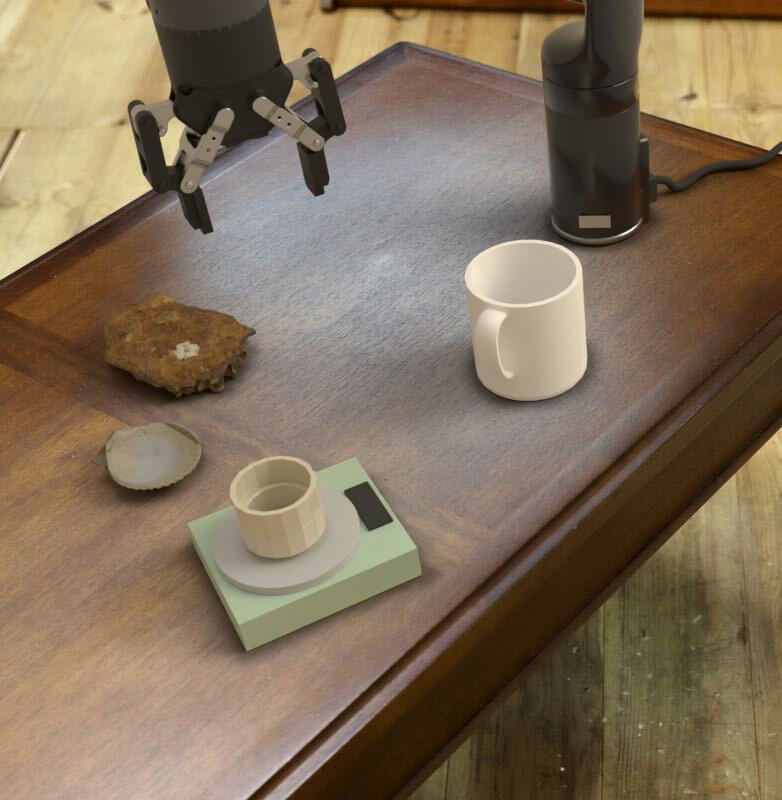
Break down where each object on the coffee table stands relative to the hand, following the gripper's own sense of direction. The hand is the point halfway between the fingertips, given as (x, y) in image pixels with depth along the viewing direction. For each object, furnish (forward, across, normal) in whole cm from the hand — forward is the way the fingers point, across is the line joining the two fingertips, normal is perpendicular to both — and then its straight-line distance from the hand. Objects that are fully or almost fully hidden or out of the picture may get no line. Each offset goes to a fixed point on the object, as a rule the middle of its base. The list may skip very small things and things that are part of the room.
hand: (261, 209), depth 100 cm
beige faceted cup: (+20, -7, -11) cm, 24 cm away
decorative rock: (+24, -6, +20) cm, 32 cm away
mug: (+25, +19, -1) cm, 31 cm away
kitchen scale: (+24, -6, -11) cm, 27 cm away
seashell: (+24, -13, +6) cm, 28 cm away
